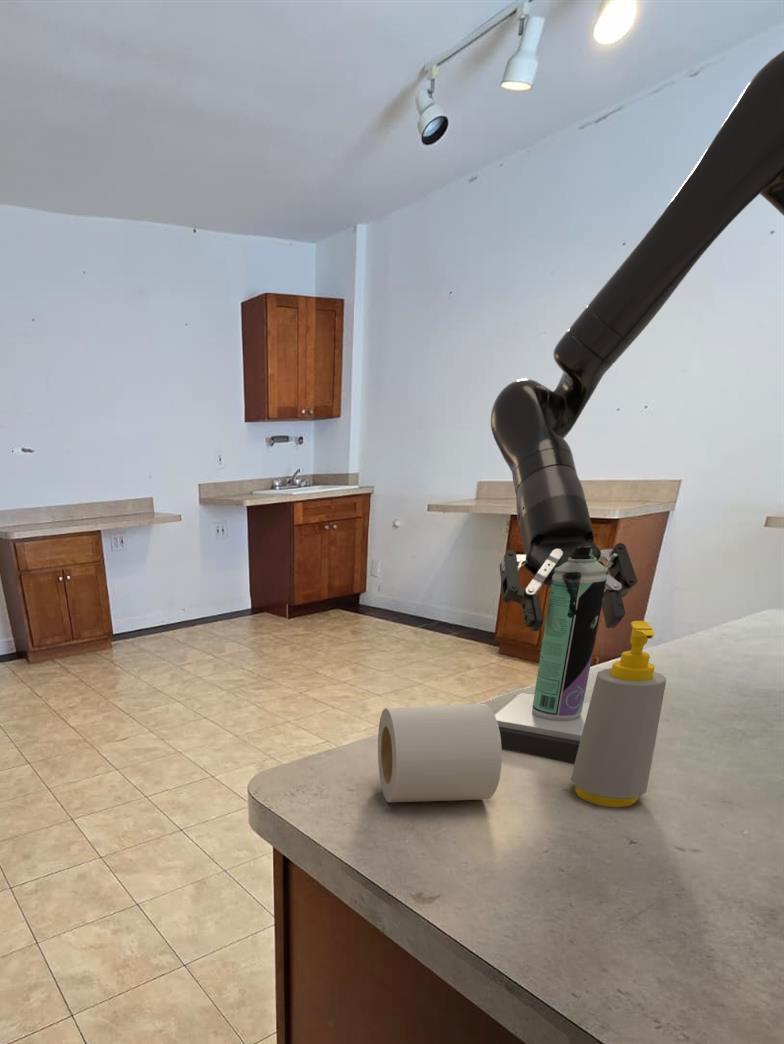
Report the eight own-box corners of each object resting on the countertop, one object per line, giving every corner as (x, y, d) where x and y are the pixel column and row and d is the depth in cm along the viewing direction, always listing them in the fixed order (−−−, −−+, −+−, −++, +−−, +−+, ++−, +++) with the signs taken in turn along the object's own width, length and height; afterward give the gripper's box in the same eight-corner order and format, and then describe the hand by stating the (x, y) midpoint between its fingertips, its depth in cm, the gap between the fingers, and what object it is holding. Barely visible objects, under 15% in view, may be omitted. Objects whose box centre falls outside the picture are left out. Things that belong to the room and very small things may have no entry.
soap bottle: (571, 806, 65) (605, 632, 58) (565, 777, 71) (594, 616, 63) (651, 814, 63) (697, 633, 55) (637, 784, 68) (677, 616, 61)
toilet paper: (464, 774, 73) (474, 691, 69) (494, 816, 64) (507, 724, 60) (376, 777, 74) (380, 695, 70) (393, 819, 65) (398, 728, 61)
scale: (645, 733, 80) (651, 709, 79) (620, 772, 71) (626, 746, 70) (512, 711, 90) (515, 689, 89) (475, 743, 81) (478, 720, 80)
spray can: (584, 722, 77) (617, 548, 68) (533, 719, 78) (559, 550, 70) (577, 707, 81) (607, 542, 73) (530, 705, 83) (554, 544, 75)
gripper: (502, 496, 77) (523, 611, 71) (627, 488, 75) (659, 604, 70) (484, 538, 84) (501, 646, 78) (598, 531, 82) (625, 640, 77)
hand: (575, 626), depth 74 cm, fingers open, 8 cm apart
